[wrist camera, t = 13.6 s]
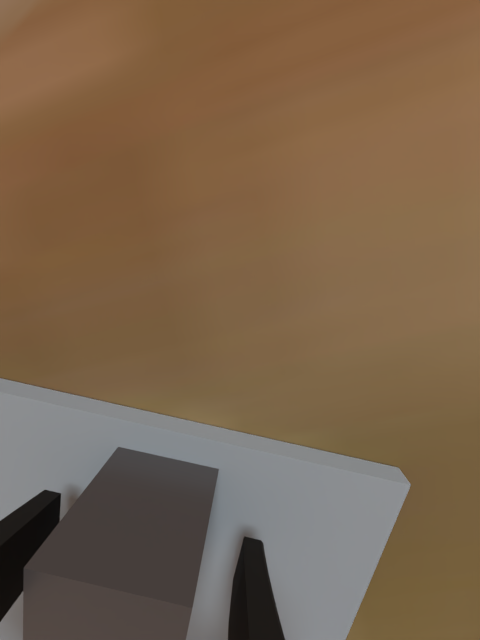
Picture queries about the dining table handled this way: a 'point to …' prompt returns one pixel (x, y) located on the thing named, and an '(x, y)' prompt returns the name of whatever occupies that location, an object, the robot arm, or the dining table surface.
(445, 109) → the dining table surface
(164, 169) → the dining table surface
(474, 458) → the dining table surface
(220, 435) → the board
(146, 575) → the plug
